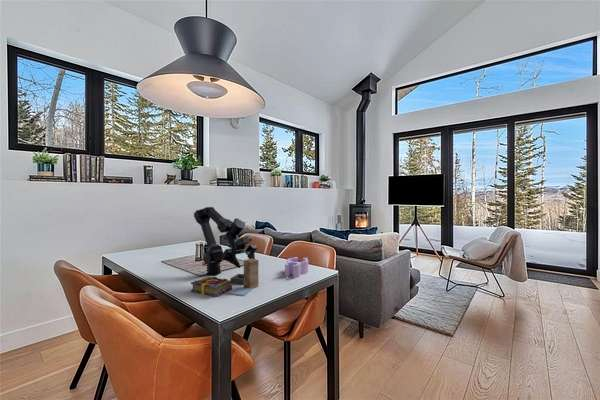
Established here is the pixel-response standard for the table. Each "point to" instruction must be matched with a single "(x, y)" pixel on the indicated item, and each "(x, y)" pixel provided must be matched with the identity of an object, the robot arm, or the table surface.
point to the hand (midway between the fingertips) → (247, 265)
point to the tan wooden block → (250, 273)
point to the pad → (240, 291)
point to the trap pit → (238, 279)
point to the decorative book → (211, 286)
